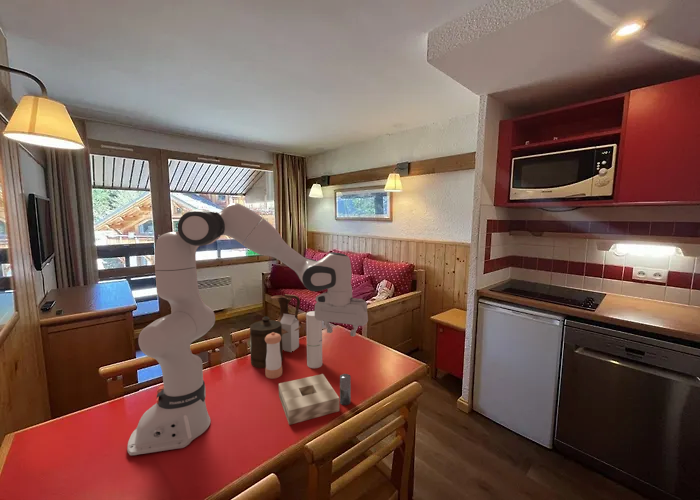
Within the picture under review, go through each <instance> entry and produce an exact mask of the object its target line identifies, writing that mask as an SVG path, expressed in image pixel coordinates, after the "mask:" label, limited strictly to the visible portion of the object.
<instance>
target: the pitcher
mask: <svg viewBox="0 0 700 500" xmlns="http://www.w3.org/2000/svg"><path fill="white" fill-rule="evenodd" d="M270 299H271V300H272V299H273V300H276V301H277V303H278V304H279V307H280V308H279V309H280V312H279V317H278V318H277V320H276V321H279V322H280V321H281V319H282V317H283V314H290V313H289V303H290V302H291V300H292V299H295V300H296V307H295V312H294V313H295V314H294V315H295V318H296V319H297V320H298V321H299V318H298V314H299V310H300V304H301V300H300V298H299V296H297V295H295V294H286V293H285V294H284V295H273V296H271V297H270ZM302 327H303V324H301V323H300V321H299V328H297V329H296V330H298V329H299V330H300V329H301V328H302ZM296 330H295V331H296ZM285 333H288V332H287V331H286V330H284V329H282V335H283V334H285Z"/></svg>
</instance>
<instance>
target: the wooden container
mask: <svg viewBox="0 0 700 500" xmlns="http://www.w3.org/2000/svg"><path fill="white" fill-rule="evenodd" d="M272 332H274V333H278V334H280V336H281V341H280V354H281V362H283V359H284V358H283V356H284V355H283V354H284V353H283V352H284V351H283V348H282V326H281V322H279V321H277V320H276V319H275V320H274V319H270V317H269V316H263V317H262V320H259V321H255V322H253V323H252V324H250V325H249V343H250V344H249V346H250V349H249V350H250V364H251V366H252V367H255V368H258V369H265V368H266V355H267V343H266V342H265V337H266V336H267V335H268V334H270V333H272Z"/></svg>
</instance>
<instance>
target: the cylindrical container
mask: <svg viewBox="0 0 700 500" xmlns="http://www.w3.org/2000/svg"><path fill="white" fill-rule="evenodd" d="M305 315H306V366H307V367H308V368H310V369H318V368H321V367H322V366H323V321H319V320H316V318H315V310H312V311H307V312H306V314H305Z"/></svg>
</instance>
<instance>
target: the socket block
mask: <svg viewBox="0 0 700 500" xmlns="http://www.w3.org/2000/svg"><path fill="white" fill-rule="evenodd" d="M278 397H279V400H280V403H281V406H282V409H283V412H284V415H285V417H286V420H287V424H288V425H289V426H290V425H293V424H297V423H302V422H304V421H308V420H311V419H315V418H319V417H323V416H326V415H330V414H333V413H337V412H340V396H339V395H338V393H337V392H336V391H335V389H334V388H333V387H332V384H330V382H329V381H328V379H327V378H326V376H325V374H324V373H321V374H315V375H313V376H307V377H306V376H305V377H302V378H298V379H294V380H289V381H284V382H280V383H278Z"/></svg>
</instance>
